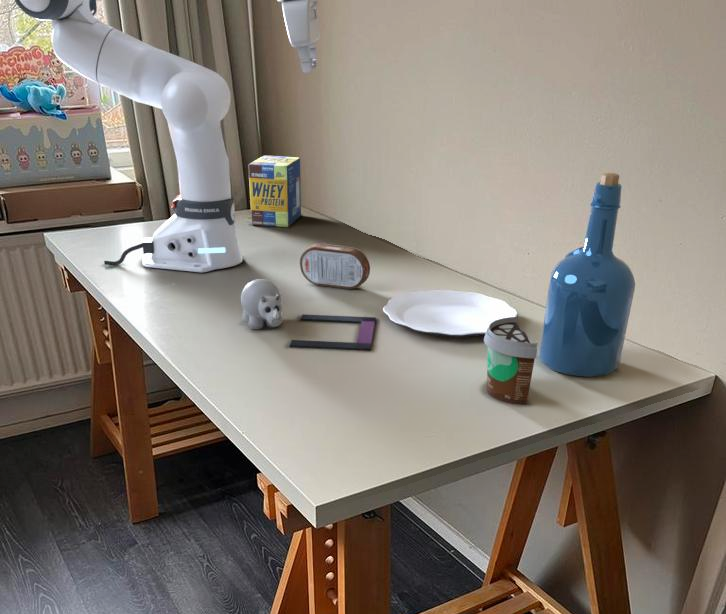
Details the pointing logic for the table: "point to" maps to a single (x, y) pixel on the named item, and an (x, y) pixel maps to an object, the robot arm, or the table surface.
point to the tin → (334, 266)
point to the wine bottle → (590, 296)
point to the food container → (509, 361)
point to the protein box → (275, 190)
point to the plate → (447, 312)
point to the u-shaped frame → (362, 342)
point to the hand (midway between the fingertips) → (310, 70)
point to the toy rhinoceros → (261, 304)
